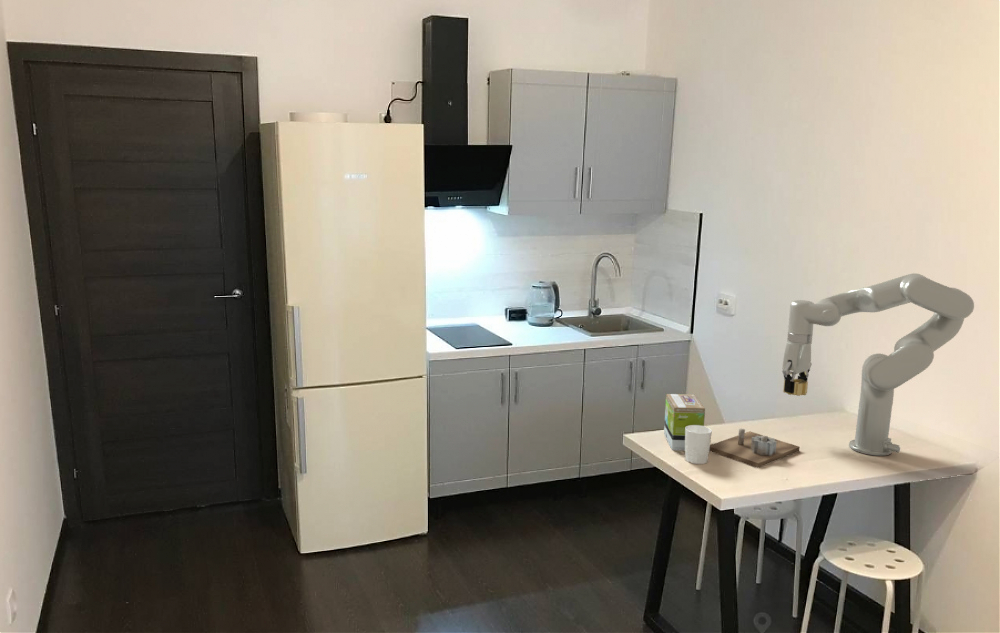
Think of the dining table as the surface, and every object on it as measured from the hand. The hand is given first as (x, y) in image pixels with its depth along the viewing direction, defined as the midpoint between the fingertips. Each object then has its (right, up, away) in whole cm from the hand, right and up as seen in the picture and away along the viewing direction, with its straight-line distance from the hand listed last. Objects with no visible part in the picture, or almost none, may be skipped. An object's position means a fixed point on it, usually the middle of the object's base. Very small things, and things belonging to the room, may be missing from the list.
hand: (795, 390), depth 250 cm
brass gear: (0, -1, 0) cm, 1 cm away
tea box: (-38, -17, -3) cm, 42 cm away
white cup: (-38, -20, -18) cm, 46 cm away
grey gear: (-15, -18, -13) cm, 27 cm away
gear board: (-17, -19, -9) cm, 26 cm away
